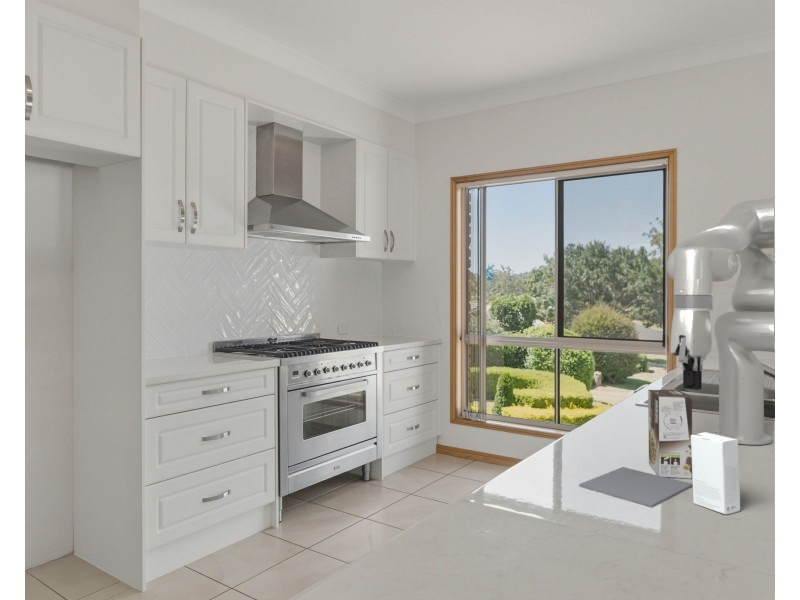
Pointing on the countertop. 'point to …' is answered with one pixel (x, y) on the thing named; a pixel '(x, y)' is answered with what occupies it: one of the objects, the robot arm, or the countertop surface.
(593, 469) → the countertop surface
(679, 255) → the robot arm
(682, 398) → the coffee box
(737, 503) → the skincare box
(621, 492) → the mat
